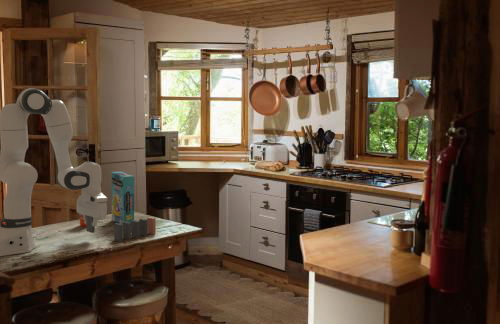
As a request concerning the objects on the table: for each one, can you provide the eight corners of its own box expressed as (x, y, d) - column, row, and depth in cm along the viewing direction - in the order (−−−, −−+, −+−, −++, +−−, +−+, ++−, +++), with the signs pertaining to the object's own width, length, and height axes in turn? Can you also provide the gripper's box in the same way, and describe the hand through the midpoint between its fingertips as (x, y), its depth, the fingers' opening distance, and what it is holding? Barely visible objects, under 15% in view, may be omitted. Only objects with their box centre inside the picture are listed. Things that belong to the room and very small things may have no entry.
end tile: (153, 234, 275) (152, 218, 275) (147, 233, 278) (147, 217, 277) (155, 233, 277) (155, 218, 276) (149, 232, 280) (149, 216, 279)
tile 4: (136, 237, 268) (136, 221, 267) (131, 236, 271) (131, 220, 270) (139, 237, 269) (139, 221, 268) (133, 235, 272) (133, 219, 271)
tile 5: (145, 236, 272) (145, 220, 271) (139, 234, 274) (139, 218, 274) (147, 235, 273) (147, 219, 272) (142, 234, 276) (141, 218, 275)
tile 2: (119, 241, 260) (119, 225, 259) (114, 240, 263) (114, 223, 262) (122, 241, 262) (122, 224, 261) (117, 239, 264) (116, 223, 264)
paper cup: (75, 226, 290) (74, 200, 288) (84, 223, 297) (83, 197, 296) (87, 227, 287) (87, 201, 286) (96, 224, 294) (96, 199, 293)
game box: (111, 220, 306) (110, 171, 303) (122, 219, 310) (121, 171, 307) (123, 227, 289) (122, 176, 286) (134, 226, 292) (134, 175, 289)
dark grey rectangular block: (91, 232, 259) (92, 215, 258) (86, 231, 262) (86, 214, 261) (94, 232, 260) (95, 215, 259) (89, 230, 263) (89, 214, 262)
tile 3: (128, 239, 264) (128, 223, 263) (122, 238, 267) (122, 221, 266) (131, 239, 265) (131, 222, 264) (125, 237, 268) (125, 221, 267)
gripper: (73, 193, 264) (72, 222, 265) (97, 199, 251) (97, 229, 252) (84, 192, 269) (84, 220, 270) (109, 198, 255) (108, 227, 256)
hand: (90, 225), depth 261 cm, fingers closed on dark grey rectangular block, 4 cm apart
